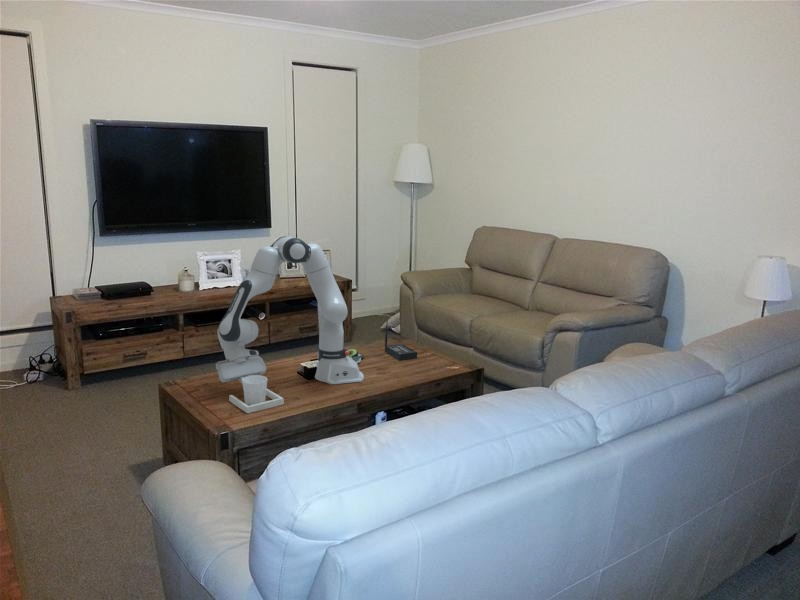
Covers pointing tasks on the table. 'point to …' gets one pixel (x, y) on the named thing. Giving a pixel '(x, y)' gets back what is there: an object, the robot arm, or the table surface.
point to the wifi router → (399, 350)
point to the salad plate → (355, 355)
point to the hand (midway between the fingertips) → (248, 386)
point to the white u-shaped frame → (260, 406)
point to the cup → (254, 389)
